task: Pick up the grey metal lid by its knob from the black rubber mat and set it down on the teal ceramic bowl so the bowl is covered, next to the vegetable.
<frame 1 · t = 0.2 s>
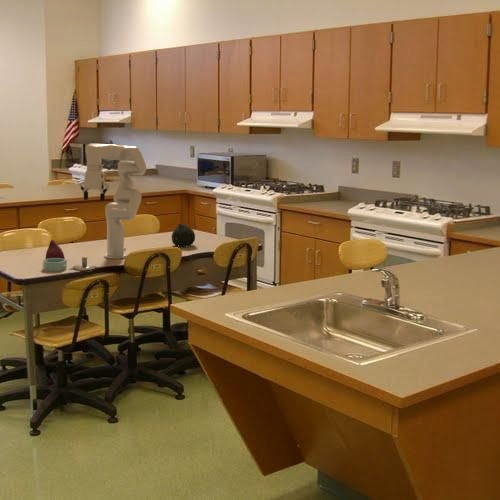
hand: (94, 200, 391), 36 cm above the table, tool pointing down, fingers open, 9 cm apart
squash: (183, 246, 460), on the table
vegetable: (55, 262, 402), on the table
mat: (84, 268, 389), on the table
bowl: (55, 269, 385), on the table
lid: (84, 262, 389), on the mat
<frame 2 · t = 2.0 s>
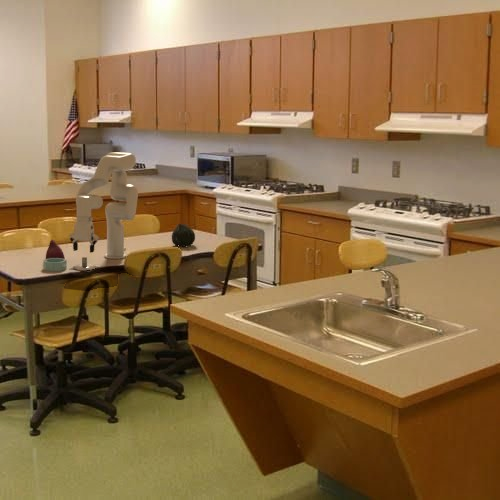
hand: (83, 251, 387), 10 cm above the table, tool pointing down, fingers open, 9 cm apart
nothing on the table moved.
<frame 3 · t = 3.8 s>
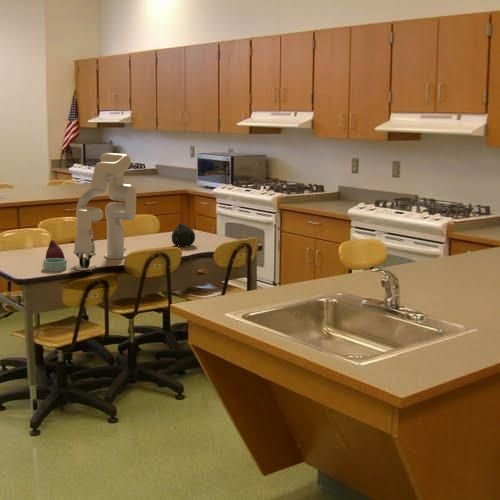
hand: (84, 265, 389), 2 cm above the table, tool pointing down, fingers closed on lid, 2 cm apart
lid: (84, 262, 389), on the mat, touching gripper
everything else where it was.
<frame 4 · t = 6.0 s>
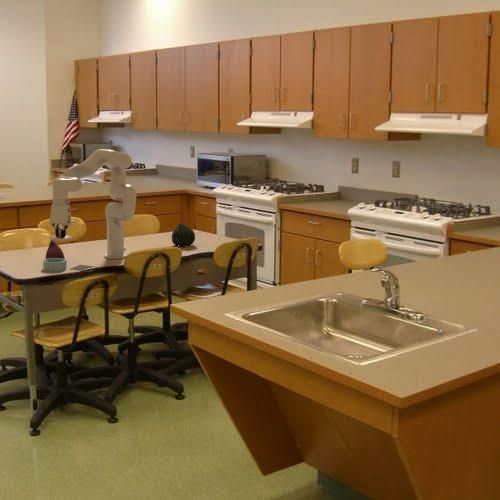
hand: (60, 236, 382), 18 cm above the table, tool pointing down, fingers closed on lid, 2 cm apart
lid: (60, 233, 382), point 20 cm above the table, touching gripper
everything else where it was.
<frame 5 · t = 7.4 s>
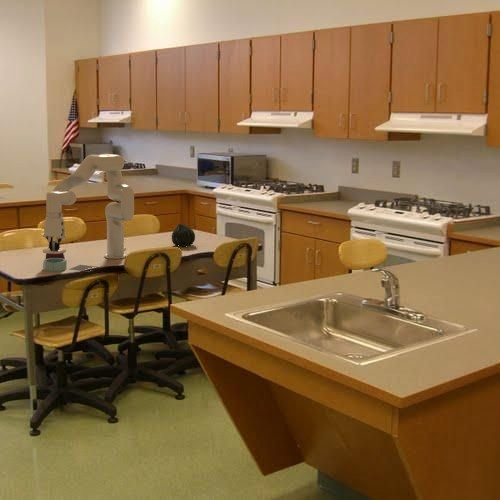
hand: (54, 249, 383), 11 cm above the table, tool pointing down, fingers closed on lid, 2 cm apart
lid: (54, 246, 383), point 13 cm above the table, touching gripper
everything else where it was.
when the fingers open (8 cm above the table, at t = 8.6 s): lid drops 2 cm, resting on bowl.
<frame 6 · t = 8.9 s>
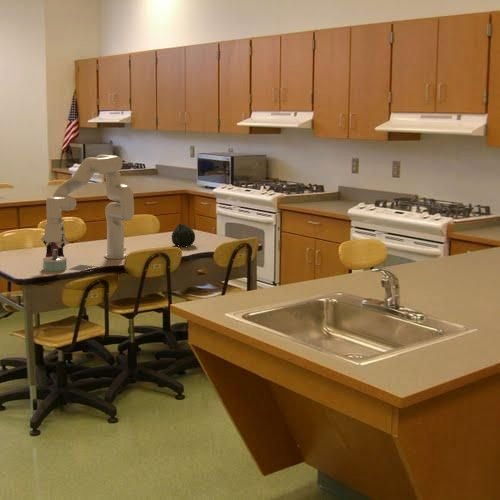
hand: (54, 254, 384), 8 cm above the table, tool pointing down, fingers open, 6 cm apart
lid: (54, 254, 384), on the bowl, point 8 cm above the table
everything else where it was.
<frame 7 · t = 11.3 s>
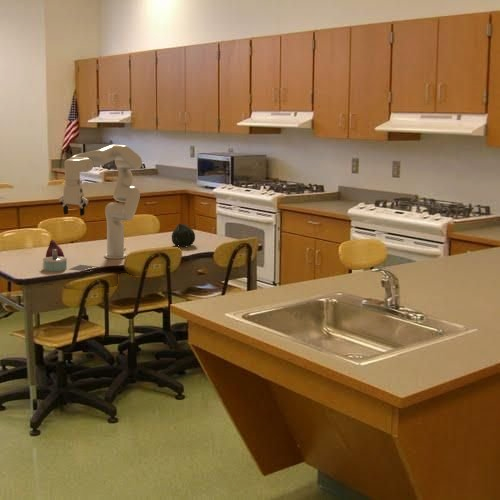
hand: (74, 214, 387), 29 cm above the table, tool pointing down, fingers open, 9 cm apart
nothing on the table moved.
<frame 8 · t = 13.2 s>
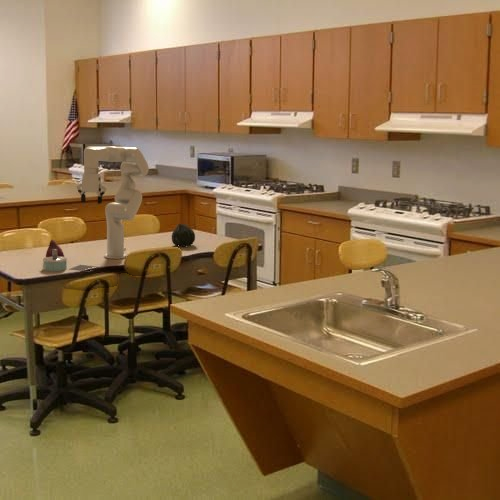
hand: (91, 202, 392), 34 cm above the table, tool pointing down, fingers open, 9 cm apart
nothing on the table moved.
at the end: lid 0.0 cm off-centre on the bowl, point 7.9 cm above the bowl's base; lid tilted 0°; the gripper is holding nothing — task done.
